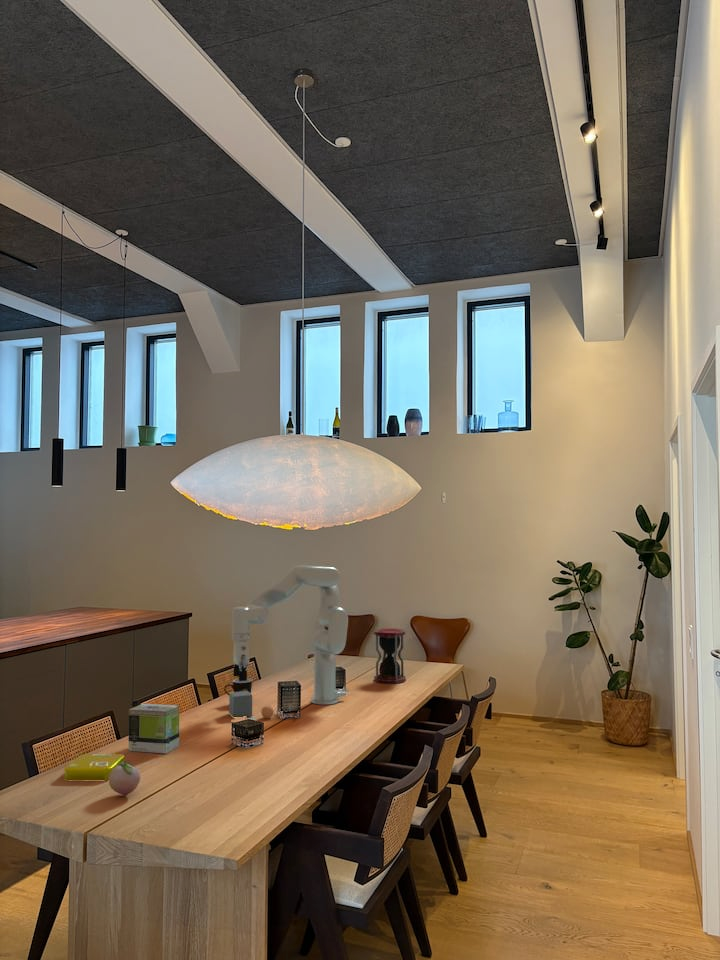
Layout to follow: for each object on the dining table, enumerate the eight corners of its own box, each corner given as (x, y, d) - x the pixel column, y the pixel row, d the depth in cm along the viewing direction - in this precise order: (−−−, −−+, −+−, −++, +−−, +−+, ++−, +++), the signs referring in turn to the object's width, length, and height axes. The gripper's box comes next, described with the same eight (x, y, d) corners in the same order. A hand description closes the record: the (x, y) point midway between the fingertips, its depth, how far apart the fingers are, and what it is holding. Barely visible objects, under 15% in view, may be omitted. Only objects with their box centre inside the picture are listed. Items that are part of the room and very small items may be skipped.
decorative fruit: (103, 795, 221) (103, 761, 222) (128, 788, 227) (129, 755, 228) (118, 804, 215) (118, 768, 215) (144, 796, 220) (144, 762, 221)
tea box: (180, 746, 270) (180, 704, 270) (165, 754, 260) (165, 711, 261) (142, 743, 274) (143, 702, 274) (127, 751, 264) (127, 708, 265)
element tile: (126, 767, 248) (126, 752, 249) (109, 782, 234) (109, 767, 234) (81, 766, 249) (81, 752, 249) (62, 782, 234) (62, 766, 234)
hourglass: (368, 678, 382) (368, 629, 384) (396, 676, 389) (396, 627, 390) (382, 685, 368) (382, 633, 369) (411, 682, 374) (411, 631, 376)
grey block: (247, 712, 317) (247, 690, 318) (252, 716, 310) (252, 694, 310) (229, 713, 314) (229, 692, 315) (233, 718, 307) (233, 696, 307)
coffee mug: (254, 701, 336) (254, 678, 336) (249, 706, 327) (249, 682, 328) (228, 700, 337) (228, 678, 337) (223, 705, 328) (223, 682, 329)
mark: (252, 716, 310) (252, 716, 310) (258, 722, 301) (258, 722, 301) (228, 719, 306) (228, 718, 306) (233, 725, 297) (233, 724, 297)
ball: (271, 716, 310) (271, 703, 311) (275, 719, 306) (275, 706, 306) (259, 717, 308) (259, 705, 309) (263, 720, 304) (263, 707, 304)
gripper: (254, 639, 307) (254, 681, 306) (244, 633, 323) (244, 674, 322) (236, 640, 304) (235, 683, 303) (227, 634, 320) (226, 675, 319)
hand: (240, 678), depth 313 cm, fingers open, 9 cm apart
